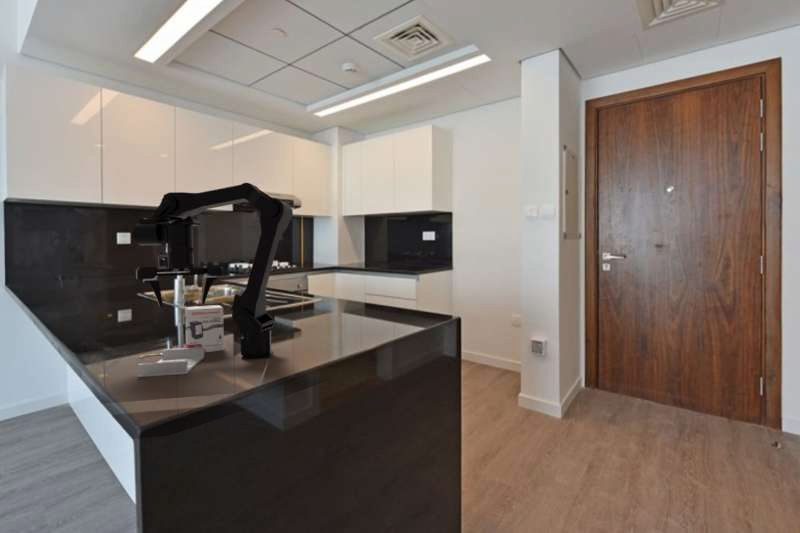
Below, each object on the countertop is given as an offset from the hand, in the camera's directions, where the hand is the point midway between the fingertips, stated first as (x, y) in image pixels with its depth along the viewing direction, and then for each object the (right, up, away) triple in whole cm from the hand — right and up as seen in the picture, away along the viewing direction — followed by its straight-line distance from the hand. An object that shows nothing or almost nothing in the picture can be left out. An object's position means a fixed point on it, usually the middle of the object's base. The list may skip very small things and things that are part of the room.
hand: (182, 306), depth 98 cm
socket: (+4, -12, -10) cm, 17 cm away
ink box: (+4, -13, +4) cm, 14 cm away
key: (-7, -12, -2) cm, 14 cm away
